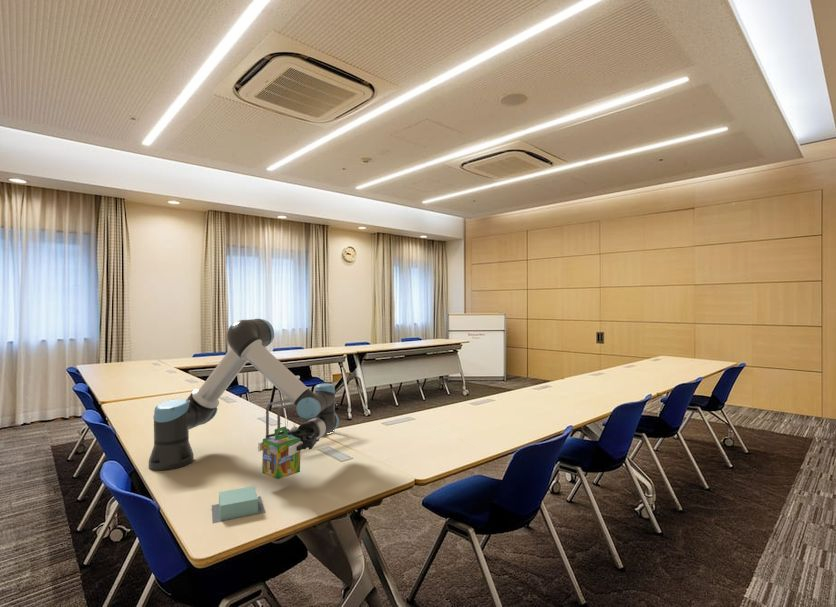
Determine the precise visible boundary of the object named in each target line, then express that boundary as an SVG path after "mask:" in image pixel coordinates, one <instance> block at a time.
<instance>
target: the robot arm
mask: <svg viewBox="0 0 836 607" xmlns="http://www.w3.org/2000/svg"><path fill="white" fill-rule="evenodd" d="M227 329H228V330H227V332H226V340H227V343H228V346H229V347H230V348H229V350H228V351H227V352H226V353H225V355H224V356H223V357H222V359H221V360H220V361H219V362H218V364H217V366H216V367H215V368H214V370H212V372H211V373H210V375H209V376H208V377H207V379H206V380H205V381H204V382H203V384H202V385H201V387H199V388H195V389H193V391H191V393H190V394H189V396H188V397H187V398H186V399H185V398H173V399H171V400H165V401H162V402H160V403H158V404H157V405H156V406H155V407H154V411H153V412H154V413H153V447H152V449H151V450H152V451H151V454H150V457H149V459H148V469H150V470H153V471H154V470H155V471H167V470H169V471H170V470H174V469H178V468H182V467H185V466H188V465H190V464H192V463H193V461H195V460H194V458H195V457H194V451H193V449H192V446H191V444H190V441H189V437H190V436H189V434H190V433H189V432H190V431H189V430H191V429H194V428H197V427H198V426H202V425H204V424H207V423H208V422H210V421H212V420H213V419H214V418H215V416H216V415H217V412H218V407H219V406H220V401H219V399H220V398H221V397H222V396H223V394H224V393H225V391H226V390H227V389H228V388H229V387H230V385H231V384H232V382H233V381H234V380H235V378H236V377H237V375H238V374H239V373H240V372H241V370H242V369H243V368H244V367H245V365H246V364H247V363H249V364H250V365H252V366H253V367H254V368H255V369H256V371H258V372H259V373H260V374H261V375H262V376H264V378H266V380H268V381H269V382H270V383H271V384H272V385H273V386H274V387H276V389H277V390H279V392H280V393H282V394H283V395H284V396H285V397H286V398H287V399H289V400H290V401H291V402H292V403H291V404H294V405H296V406H295V407H296V411H297V415H298V417H299V418H300V417H301V418H300V419H302V420H307V421H305V422H303V424H302V423H300V425H299V426H297V428H298V429H297V430H295V431H290V432H289V430H290V429H289V428H287V434H288V435H293V436H295V437H297V438H300V439H301V441H300V442H298V443H296V444H294V445H292V446H290V447H289V451H288V456H291V455H293V454H295V453H297V452H298V451H300V452H301V451H302V450H307V449H308V450H313V448H314V446H315V445H316V444H317V443H318V442H319V441H320V439H321V438H322V437H325V436H324V435H326V434H327V433H330V432H332V431H333V430H334V429H335V430H336V429H337V428H338V426H339V424H340V419H339V416H338V415H337V413H336V411H335V412H334V408H335V409H336V398H335V397H336V387H335V385H334V384H333V383H325V382H324V383H319V384H316V385H315V390H314V392H313V391H312V390H311V388H309V387H307V386H306V385H305V384H304V382H303V381H301V380H300V379H299V378H298V377H297V376H296V375H295V374H294V373H293V372H292V371H291V370H289V369H288V367H287V366H285V365H284V363H282V362H281V361H280V360H279V359H278V358H277V357H276V356H274V355H273V354H272V353H271V352H270V351H269V350H268V349H267V348H266V347H267V346H269V345H270V344H272V343H273V341H274V338H275V331H274V327H273V325H272V324H271V323H270V322H269V321H268V320H266V319H261V318H254V319H239V320H237V321H234V322H233V323H232V324H230V326H229V328H227ZM335 430H334V431H335ZM279 434H284V432H283V431H280V432H279V433H278V435H279ZM271 436H275V432H274V433H271V434H269V435H266V434H265V438H268V437H271ZM326 436H327V435H326ZM257 452H263V440H262V441H260V442H258V443H257Z"/></svg>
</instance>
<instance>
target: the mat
mask: <svg viewBox="0 0 836 607" xmlns="http://www.w3.org/2000/svg"><path fill="white" fill-rule="evenodd" d="M257 497H258V513H253V514H248V515H243V516H238V517H233V518H228V519H223V520H220V511H219V503H217V504H212V505H211V516H212V517H211V520H212V524H217V523H222V522H226V521H227V522H228V521H231V520H236V519H237V520H238V519H241V518H247V517H251V516H256V515H261V514H266V509H265V506H264V503H263V500H262V497H261V495H260V496H257Z"/></svg>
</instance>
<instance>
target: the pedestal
mask: <svg viewBox="0 0 836 607" xmlns="http://www.w3.org/2000/svg"><path fill="white" fill-rule="evenodd" d="M258 497H259V496H258V495H257V491H256V488H255V485H251V486H247V487H239V488H234V489H229V490H224V491H219V492H218V504H219V511H220V520H223V519H228V518H233V517H238V516H243V515H248V514H253V513H258Z"/></svg>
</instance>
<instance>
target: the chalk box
mask: <svg viewBox="0 0 836 607" xmlns="http://www.w3.org/2000/svg"><path fill="white" fill-rule="evenodd" d="M286 428H287V426H286V427H285V426H282V427H281V426H280V428H278V429H277V428H275V429H274V433H275V436H271V437H268V438H266V437H264V438H262V441H263V450H262V465H261V466H262V468H261V474H264V475H266V476H268V477H270V478H273V479H275V480H280V479H283V478H287V477H290V476H291V475H296V474H298V473H300V472H301V451H298V452H297V453H295V454H293V455H291V456H288V451H289V447H290V446H292V445H294V444H296V443H298V442H300V441H301V439H300V438H297V437H295V436H293V435H288V434H287V430H286ZM279 431H280V432H282V431H283V432H284V434H279V435H278V433H279Z"/></svg>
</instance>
